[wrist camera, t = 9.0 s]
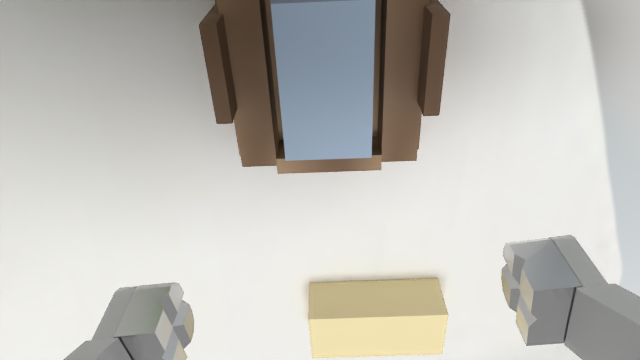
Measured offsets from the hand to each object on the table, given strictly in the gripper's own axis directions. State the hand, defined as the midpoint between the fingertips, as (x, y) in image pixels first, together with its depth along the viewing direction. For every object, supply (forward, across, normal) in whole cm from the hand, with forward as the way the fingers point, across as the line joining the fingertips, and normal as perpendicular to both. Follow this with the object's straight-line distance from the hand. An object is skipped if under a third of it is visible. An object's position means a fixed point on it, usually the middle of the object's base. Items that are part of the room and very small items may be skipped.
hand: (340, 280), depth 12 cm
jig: (+15, 0, -2) cm, 15 cm away
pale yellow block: (+15, -1, +18) cm, 23 cm away
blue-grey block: (+14, 0, -2) cm, 14 cm away
